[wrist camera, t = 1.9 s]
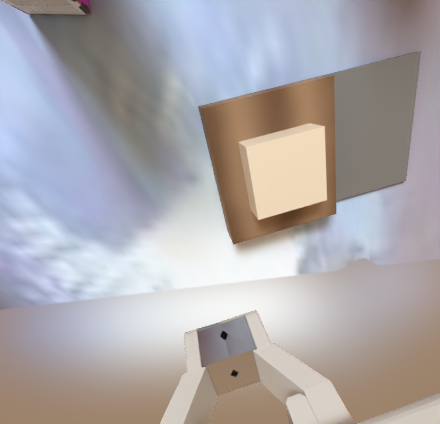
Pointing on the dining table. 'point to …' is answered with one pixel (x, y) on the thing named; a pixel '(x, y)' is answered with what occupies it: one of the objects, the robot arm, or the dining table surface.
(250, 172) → the tile
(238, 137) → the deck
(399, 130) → the mat
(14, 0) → the candy bar box
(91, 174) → the dining table surface
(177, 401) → the robot arm
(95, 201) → the dining table surface
